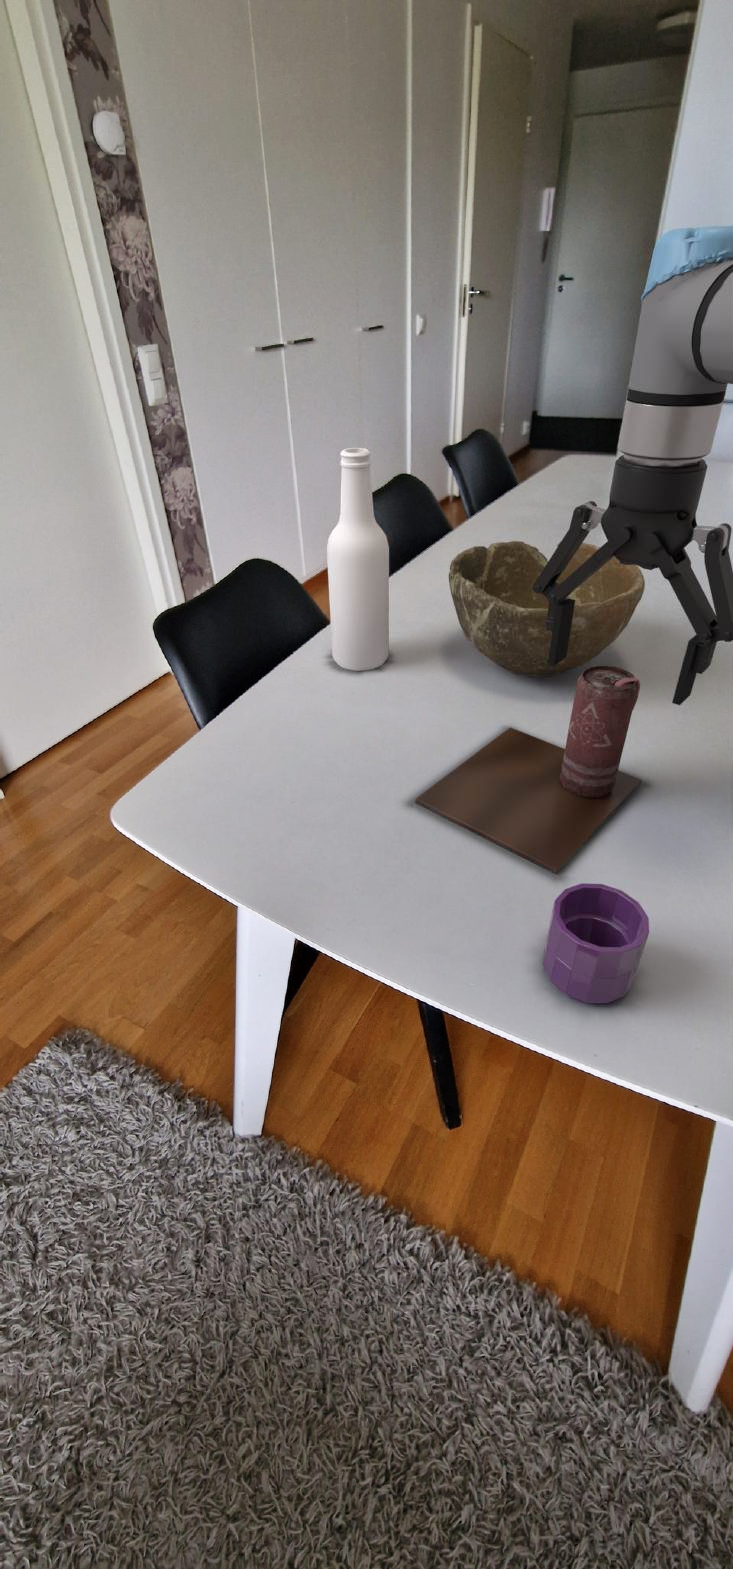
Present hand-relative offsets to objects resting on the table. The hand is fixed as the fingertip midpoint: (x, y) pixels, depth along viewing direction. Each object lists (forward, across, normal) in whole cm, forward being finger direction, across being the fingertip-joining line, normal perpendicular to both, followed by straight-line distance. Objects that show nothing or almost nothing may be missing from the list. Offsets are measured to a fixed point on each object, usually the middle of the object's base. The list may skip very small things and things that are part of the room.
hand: (615, 679), depth 73 cm
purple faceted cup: (+15, -12, +24) cm, 30 cm away
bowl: (+14, +22, -24) cm, 36 cm away
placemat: (+15, +6, +5) cm, 16 cm away
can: (+14, +1, 0) cm, 14 cm away
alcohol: (+14, +43, -8) cm, 46 cm away
